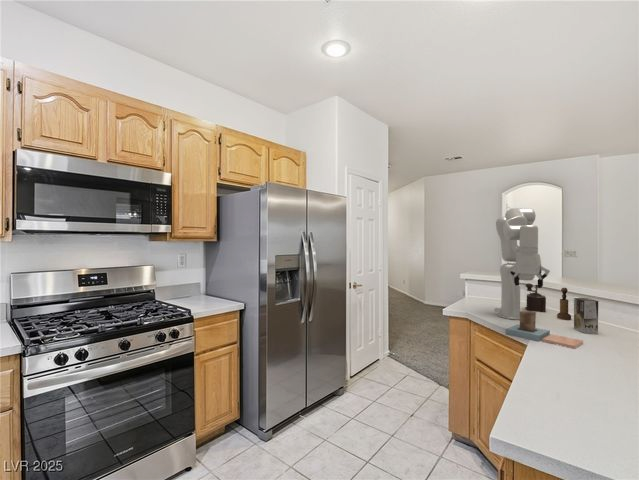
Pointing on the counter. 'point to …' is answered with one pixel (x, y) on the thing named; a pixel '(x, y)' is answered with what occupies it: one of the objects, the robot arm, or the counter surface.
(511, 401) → the counter surface
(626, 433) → the counter surface
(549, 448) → the counter surface
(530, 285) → the dark brown boxy piece
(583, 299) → the coffee box
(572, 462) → the counter surface
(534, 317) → the walnut block
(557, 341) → the terracotta tile
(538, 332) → the pocket plate
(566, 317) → the wooden chess piece
